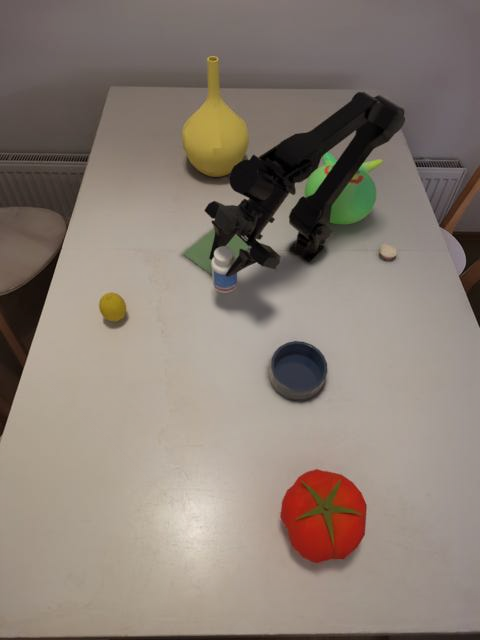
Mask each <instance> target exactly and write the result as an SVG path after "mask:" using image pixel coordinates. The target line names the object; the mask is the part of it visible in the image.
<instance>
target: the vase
mask: <svg viewBox="0 0 480 640" xmlns="http://www.w3.org/2000/svg"><path fill="white" fill-rule="evenodd" d="M206 61H207V65H206V66H207V96H206V99H205V102H204V103H202V105H201V106H200V107H199V108H198V109H197V110H196V111H195V112H194V113H193V114H192V115H191V116H189V117H188V119H187V120H186V121H185V122H184V124H183V126H182V131H181V132H182V133H181V138H182V139H181V142H182V148H183V150H184V152H185V154H186V156H187V159H188V160H189V162H190V164H191V165H192V166H193V167H194V168H195V169H196V170H197V171H198V172H200V173H201V174H203V175H205V176H208V177H212V178H222V177H225V176H227V175H230V173H231V171H232V169H233V167H234V166H235V165H237V164H238V163H239V162H241V161H243V160H244V158H245V155H246V153H247V151H248V147H249V142H250V141H249V140H250V137H249V131H248V127H247V126H248V125H247V123H246V121H244V119H243V118H241V116H239V115H238V114H237V113H236V112H234V111H233V110H232V109H231V108H230V107H229V106H228V105H227V104H226V103H225V101H223V98H222V96H221V87H220V84H221V83H220V65H219V63H220V62H219V57H218V56H215V55H213V56H212V55H211V56H208V57H207V58H206Z"/></svg>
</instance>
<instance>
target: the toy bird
mask: <svg viewBox="0 0 480 640" xmlns="http://www.w3.org/2000/svg"><path fill="white" fill-rule="evenodd" d="M321 160H322V163H323V165H321V166H318V168H317V169H316V170H315V171H314V172H313V173H312V174H311V175H310V176H309V178H307V181H306V184H305V187H304V197H305V198H306V197H308V196H310V195H312V194H314V193H315V192H316V190H317V189H318V187H319V186H320V185H321V183H322V182H323V180H324V179H325V177H326V176H327V175H328V173H329V172H330V170H331V169H332V168H333V166H334V165H335V163H336V162H337V160H338V159H336V158H335V156H333V155H332V154H331V153H330V152H329V151H328V152H327V153H326V154H324V155H323V156H322V157H321ZM383 162H384V160H382V159H379V158H378V159H373V160H370V161H365V162H364V163H363V164H362V165H361V167H360V168H359V169H358V171H357V172H356V174H355V175H354V176H353V178H352V179H351V180H350V182H349V183H348V184H347V186H346V187H345V189H344V190H343V191H342V193H341V194H340V195H339V197H338V198H337V199H336V201H335V202H334V204H333V205H332V208H331V216H330V221H329V222H328V223H329V224H330V223H331V224H335V225H350V224H354V223H355V224H356V223H358V222H359V221H361V220H363V219H364V218H366V217H367V216H368V215H369V214H370V213H371V211H372V210H373V208H374V206H375V203H376V200H377V187H376V183H375V182H374V179H373V178H372V176H370V173H371V172H372V171H373V170H375V169H376V168H378V167H379V166H380V165H381V164H383Z"/></svg>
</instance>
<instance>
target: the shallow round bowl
mask: <svg viewBox="0 0 480 640" xmlns="http://www.w3.org/2000/svg"><path fill="white" fill-rule="evenodd" d="M327 375H328V362H327V360H326V357H325V354H323V353H322V351H321V350H320V349H319V348H318V347H316V346H314V345H313V344H311V343H309V342H306V341H300V340H293V341H287V342H286V343H284V344H282V345H279V347H278V348H277V349H276V350H275V351H274V352H273V354H272V356H271V359H270V366H269V380H270V383H271V385H272V387H273V389H274V390H275V391H276V393H278V394H279V395H281V396H282V397H284V398H286V399H288V400H291V401H305V400H309V399H311V398H313V397H314V396H316V395H317V394H318V393H319V392H320V390H321V389H322V387H323V385H324V383H325V381H326V377H327Z"/></svg>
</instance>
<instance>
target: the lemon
mask: <svg viewBox="0 0 480 640" xmlns="http://www.w3.org/2000/svg"><path fill="white" fill-rule="evenodd" d="M98 308H99V312H100V314H101V316H102V317H103V318H104V319H106V321H110V322H118V321H120V320H122V319H123V318H124V317H125V316H126V313H127V303H126V301H125V299H124V298H123V297H122V296H121V295H120V294H119V293H116V292H107V293H105V294H104V295H102V296H101V298H100V299H99V303H98Z"/></svg>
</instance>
